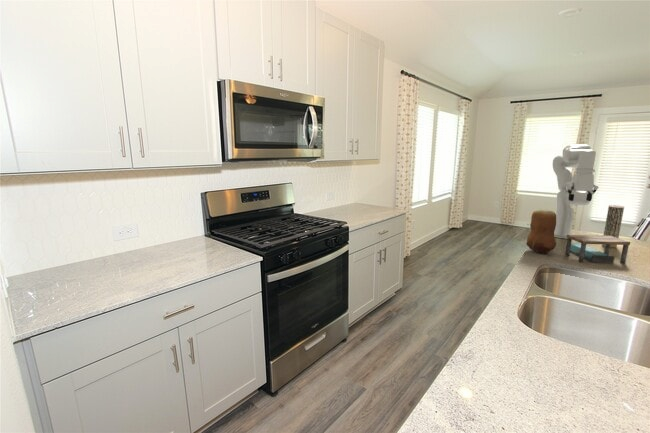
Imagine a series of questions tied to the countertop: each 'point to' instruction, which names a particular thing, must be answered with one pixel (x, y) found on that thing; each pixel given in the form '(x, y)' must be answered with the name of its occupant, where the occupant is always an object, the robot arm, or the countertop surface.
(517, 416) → the countertop surface
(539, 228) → the butternut squash
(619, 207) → the brown bark cylinder
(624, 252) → the small wooden table
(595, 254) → the teal u-channel piece
